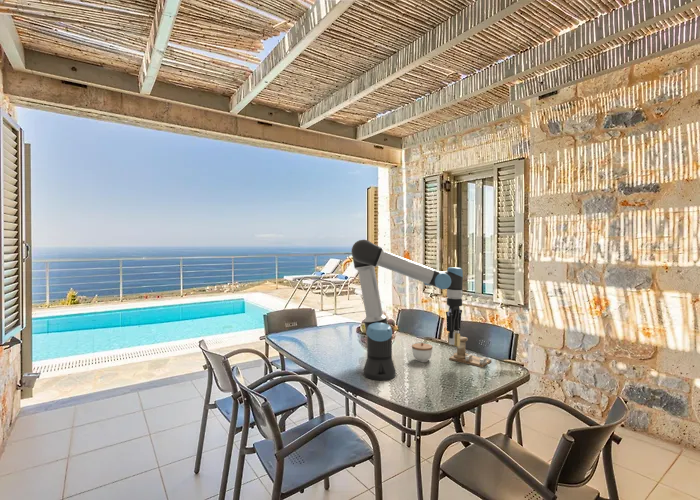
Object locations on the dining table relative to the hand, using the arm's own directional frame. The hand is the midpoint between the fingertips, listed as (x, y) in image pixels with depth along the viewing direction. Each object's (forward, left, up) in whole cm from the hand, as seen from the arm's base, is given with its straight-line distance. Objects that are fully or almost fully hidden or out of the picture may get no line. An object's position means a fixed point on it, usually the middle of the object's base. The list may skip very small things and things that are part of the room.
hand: (453, 343), depth 180 cm
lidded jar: (-3, +17, -12) cm, 20 cm away
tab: (0, 0, -1) cm, 1 cm away
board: (+14, -2, -11) cm, 18 cm away
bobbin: (+14, +3, -11) cm, 18 cm away
